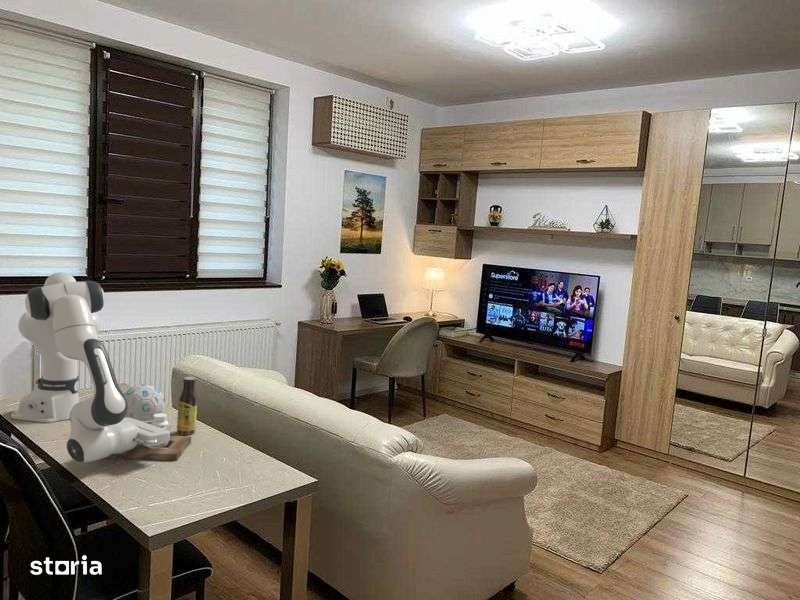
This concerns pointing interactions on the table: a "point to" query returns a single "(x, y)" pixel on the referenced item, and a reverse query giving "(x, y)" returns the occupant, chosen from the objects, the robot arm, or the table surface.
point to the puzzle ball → (144, 402)
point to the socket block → (161, 450)
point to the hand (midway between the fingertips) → (161, 425)
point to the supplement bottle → (160, 423)
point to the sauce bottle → (187, 408)
